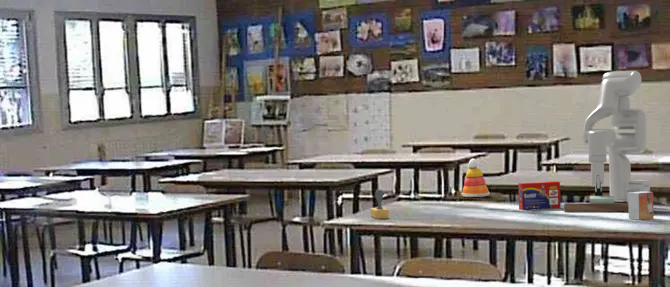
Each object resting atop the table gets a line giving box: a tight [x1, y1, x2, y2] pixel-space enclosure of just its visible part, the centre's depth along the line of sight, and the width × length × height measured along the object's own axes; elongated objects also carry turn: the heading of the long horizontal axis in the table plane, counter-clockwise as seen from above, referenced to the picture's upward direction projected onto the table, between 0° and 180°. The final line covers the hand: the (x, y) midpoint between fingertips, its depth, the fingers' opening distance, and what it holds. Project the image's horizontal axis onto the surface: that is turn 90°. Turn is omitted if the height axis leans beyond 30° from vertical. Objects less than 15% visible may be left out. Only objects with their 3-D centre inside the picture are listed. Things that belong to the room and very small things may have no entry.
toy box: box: [518, 181, 562, 211], centre depth 430 cm, size 18×4×12 cm, turn 104°
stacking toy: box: [461, 158, 491, 198], centre depth 495 cm, size 14×14×20 cm
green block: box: [589, 195, 615, 203], centre depth 418 cm, size 12×10×6 cm
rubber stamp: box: [370, 188, 390, 220], centre depth 415 cm, size 10×6×12 cm, turn 10°
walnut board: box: [563, 202, 629, 213], centre depth 412 cm, size 2×28×4 cm, turn 75°
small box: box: [628, 191, 654, 221], centre depth 382 cm, size 8×6×10 cm
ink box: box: [626, 179, 651, 203], centre depth 425 cm, size 8×5×12 cm, turn 39°
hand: (598, 200), depth 426 cm, fingers closed
